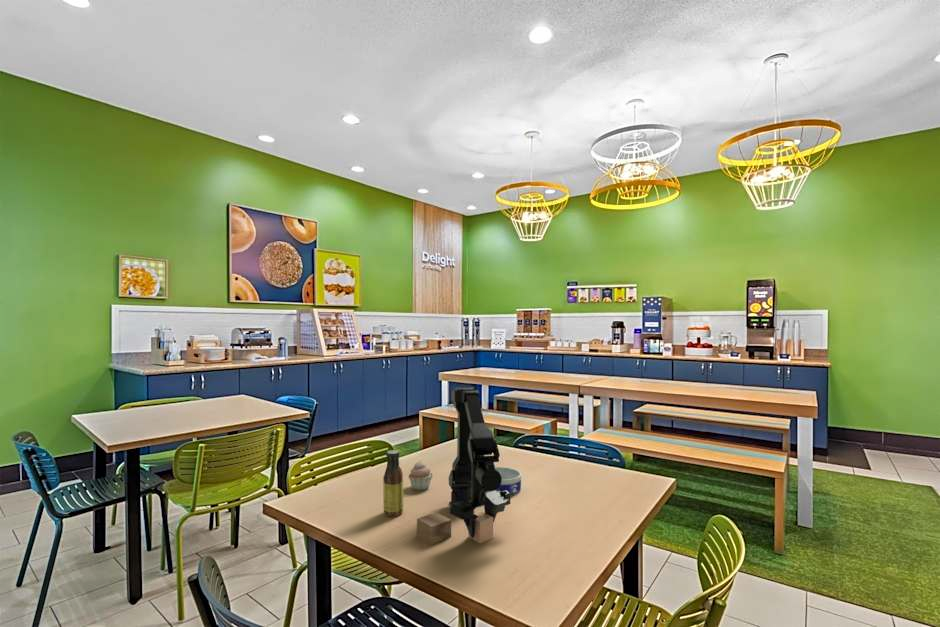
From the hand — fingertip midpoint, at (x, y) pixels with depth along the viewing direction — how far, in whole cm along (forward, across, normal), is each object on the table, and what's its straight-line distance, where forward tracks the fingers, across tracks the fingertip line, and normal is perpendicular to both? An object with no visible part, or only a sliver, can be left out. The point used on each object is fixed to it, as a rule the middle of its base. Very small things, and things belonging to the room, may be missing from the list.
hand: (480, 533), depth 132 cm
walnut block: (+1, -10, +9) cm, 14 cm away
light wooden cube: (+1, 0, 0) cm, 1 cm away
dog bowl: (+2, +32, +25) cm, 41 cm away
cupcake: (+1, +9, +44) cm, 45 cm away
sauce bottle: (+1, -11, +30) cm, 32 cm away
